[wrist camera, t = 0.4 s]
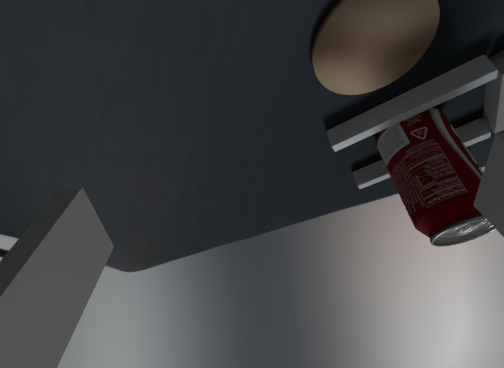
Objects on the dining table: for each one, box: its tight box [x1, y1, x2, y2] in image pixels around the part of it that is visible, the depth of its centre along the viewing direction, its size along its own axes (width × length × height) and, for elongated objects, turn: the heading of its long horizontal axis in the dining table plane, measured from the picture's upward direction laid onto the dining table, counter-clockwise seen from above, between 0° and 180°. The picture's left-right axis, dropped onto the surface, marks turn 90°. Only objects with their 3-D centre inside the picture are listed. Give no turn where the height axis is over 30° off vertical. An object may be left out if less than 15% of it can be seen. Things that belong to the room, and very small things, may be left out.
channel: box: [326, 54, 498, 189], centre depth 32 cm, size 14×10×2 cm
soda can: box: [376, 107, 496, 246], centre depth 30 cm, size 7×7×12 cm
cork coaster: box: [311, 0, 440, 95], centre depth 23 cm, size 9×9×1 cm
